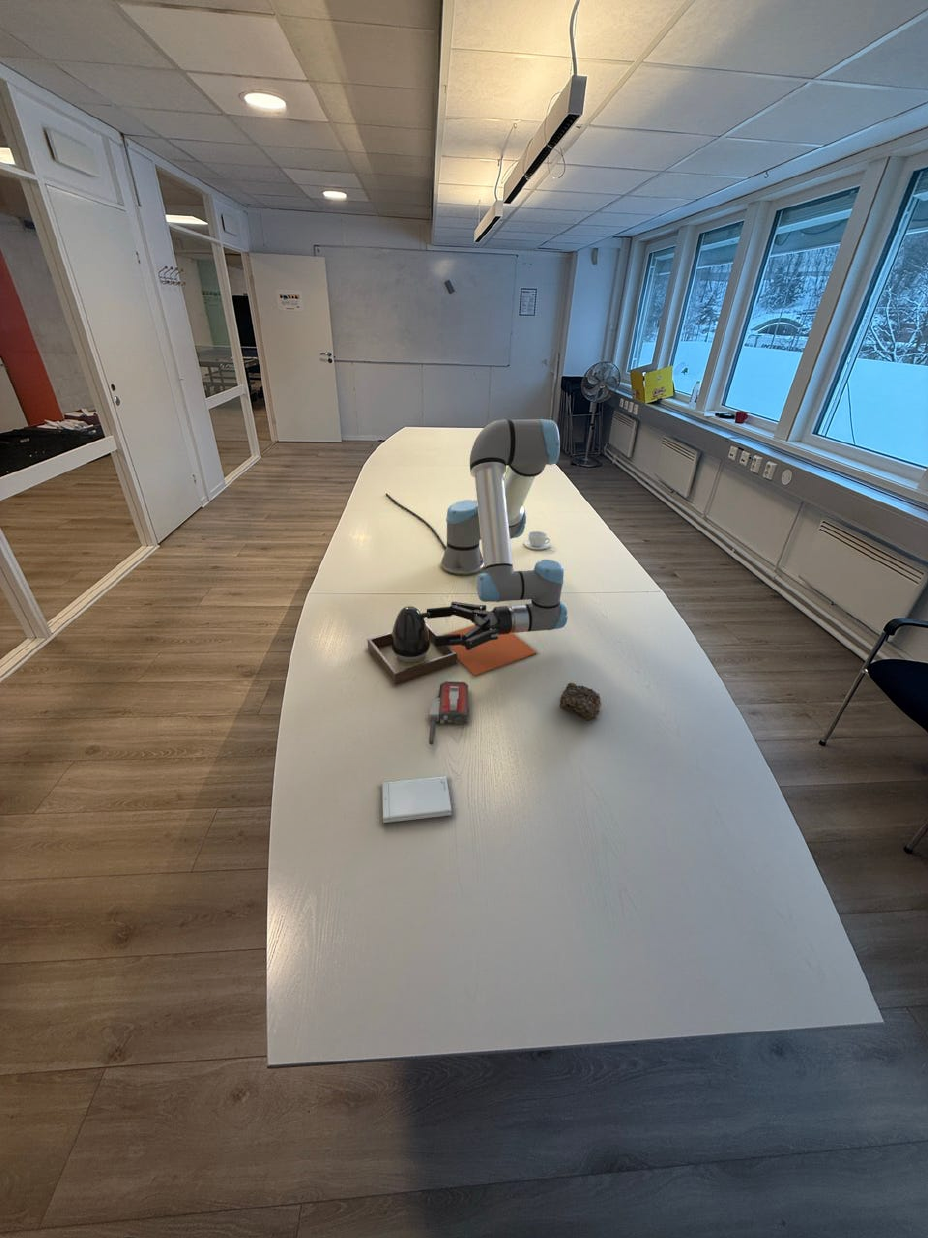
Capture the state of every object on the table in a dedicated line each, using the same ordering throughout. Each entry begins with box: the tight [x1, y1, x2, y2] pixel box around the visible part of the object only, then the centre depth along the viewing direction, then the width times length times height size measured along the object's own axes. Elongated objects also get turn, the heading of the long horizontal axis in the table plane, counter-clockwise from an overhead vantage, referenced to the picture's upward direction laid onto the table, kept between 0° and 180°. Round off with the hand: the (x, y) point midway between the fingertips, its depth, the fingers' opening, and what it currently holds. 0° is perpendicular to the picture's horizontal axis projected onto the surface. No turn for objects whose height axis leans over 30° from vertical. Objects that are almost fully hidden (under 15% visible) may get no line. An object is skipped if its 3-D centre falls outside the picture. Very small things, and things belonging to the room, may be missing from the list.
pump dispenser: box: [390, 605, 431, 664], centre depth 129 cm, size 10×10×15 cm
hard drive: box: [381, 775, 453, 824], centre depth 94 cm, size 2×8×12 cm
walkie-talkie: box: [428, 680, 469, 746], centre depth 113 cm, size 9×4×20 cm
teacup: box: [524, 530, 551, 550], centre depth 198 cm, size 10×10×5 cm
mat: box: [444, 624, 537, 677], centre depth 138 cm, size 20×20×1 cm
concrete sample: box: [559, 682, 602, 721], centre depth 116 cm, size 12×10×5 cm
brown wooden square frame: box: [366, 621, 458, 686], centre depth 132 cm, size 18×18×4 cm
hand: (430, 627), depth 130 cm, fingers open, 13 cm apart
